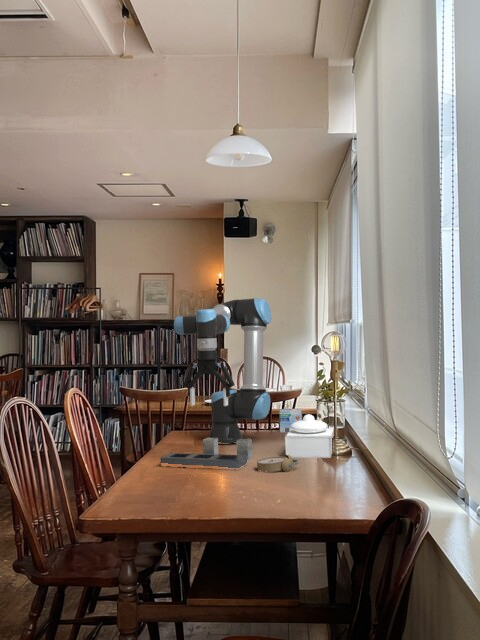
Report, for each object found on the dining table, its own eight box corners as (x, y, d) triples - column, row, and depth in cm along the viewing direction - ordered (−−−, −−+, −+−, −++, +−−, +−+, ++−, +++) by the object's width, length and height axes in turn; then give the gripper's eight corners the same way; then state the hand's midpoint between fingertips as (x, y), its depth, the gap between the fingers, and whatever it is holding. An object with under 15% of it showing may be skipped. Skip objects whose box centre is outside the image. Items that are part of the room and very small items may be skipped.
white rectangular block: (241, 459, 243) (240, 438, 243) (252, 459, 241) (251, 438, 241) (237, 461, 238) (236, 440, 239) (248, 462, 237) (247, 440, 237)
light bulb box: (279, 432, 301) (278, 410, 301) (281, 430, 308) (280, 408, 308) (301, 432, 299) (301, 410, 300) (302, 430, 306) (302, 408, 306)
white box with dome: (291, 449, 260) (289, 411, 260) (334, 449, 256) (333, 410, 256) (285, 458, 243) (284, 417, 243) (332, 458, 239) (330, 416, 239)
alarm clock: (258, 458, 230) (298, 450, 227) (261, 471, 230) (300, 464, 227) (253, 464, 219) (294, 457, 216) (256, 478, 219) (297, 471, 216)
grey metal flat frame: (172, 461, 242) (171, 452, 242) (247, 464, 232) (246, 455, 232) (160, 466, 233) (160, 457, 233) (238, 470, 223) (237, 460, 223)
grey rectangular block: (208, 457, 247) (207, 437, 248) (218, 458, 246) (217, 437, 246) (203, 460, 243) (202, 439, 243) (214, 460, 242) (213, 439, 242)
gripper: (173, 351, 238) (175, 406, 238) (234, 349, 230) (236, 406, 229) (181, 350, 245) (183, 403, 245) (241, 348, 237) (243, 404, 237)
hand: (209, 405), depth 237 cm, fingers open, 13 cm apart
